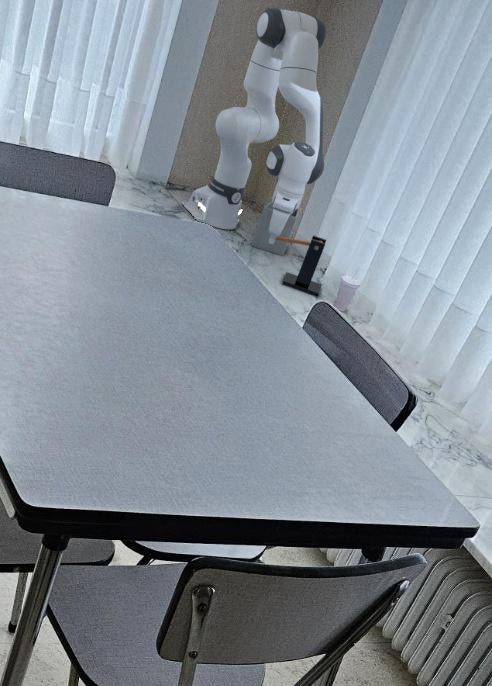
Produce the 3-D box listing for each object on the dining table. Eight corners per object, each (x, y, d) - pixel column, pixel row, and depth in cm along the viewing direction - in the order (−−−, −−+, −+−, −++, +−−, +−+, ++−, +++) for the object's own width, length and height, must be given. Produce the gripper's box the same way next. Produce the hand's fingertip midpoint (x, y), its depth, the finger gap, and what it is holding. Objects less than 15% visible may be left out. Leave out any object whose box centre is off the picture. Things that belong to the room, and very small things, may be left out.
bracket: (282, 284, 318) (299, 237, 309) (285, 275, 325) (302, 229, 316) (317, 296, 317) (336, 250, 308) (320, 287, 325) (338, 241, 316)
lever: (268, 242, 314) (270, 235, 313) (270, 238, 318) (272, 230, 317) (320, 252, 312) (321, 244, 310) (321, 247, 316) (323, 239, 315)
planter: (264, 255, 335) (284, 199, 324) (250, 244, 340) (269, 189, 329) (299, 255, 345) (319, 201, 334) (285, 245, 349) (304, 191, 338)
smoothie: (349, 315, 312) (366, 274, 304) (329, 308, 312) (346, 267, 304) (349, 307, 317) (366, 267, 309) (330, 301, 317) (346, 260, 309)
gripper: (281, 186, 317) (266, 227, 325) (273, 203, 300) (258, 246, 308) (300, 192, 316) (285, 233, 324) (293, 210, 300) (277, 253, 307)
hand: (272, 240), depth 316 cm, fingers closed on lever, 5 cm apart
